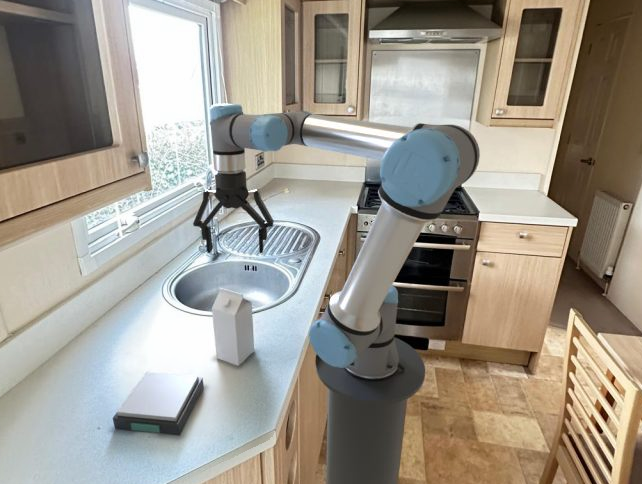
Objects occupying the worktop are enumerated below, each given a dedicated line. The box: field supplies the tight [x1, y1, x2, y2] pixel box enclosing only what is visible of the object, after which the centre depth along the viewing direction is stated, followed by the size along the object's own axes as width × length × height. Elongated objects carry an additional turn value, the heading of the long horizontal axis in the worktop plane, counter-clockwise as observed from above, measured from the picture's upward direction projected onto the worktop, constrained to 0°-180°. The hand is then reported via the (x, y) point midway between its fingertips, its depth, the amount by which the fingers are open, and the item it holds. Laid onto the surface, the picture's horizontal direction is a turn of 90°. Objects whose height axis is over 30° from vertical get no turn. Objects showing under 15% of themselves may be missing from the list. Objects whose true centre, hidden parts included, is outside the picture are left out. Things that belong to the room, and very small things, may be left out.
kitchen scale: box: [112, 371, 205, 437], centre depth 89 cm, size 14×14×4 cm
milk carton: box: [211, 287, 255, 367], centre depth 104 cm, size 7×7×19 cm
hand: (235, 251), depth 107 cm, fingers open, 13 cm apart
